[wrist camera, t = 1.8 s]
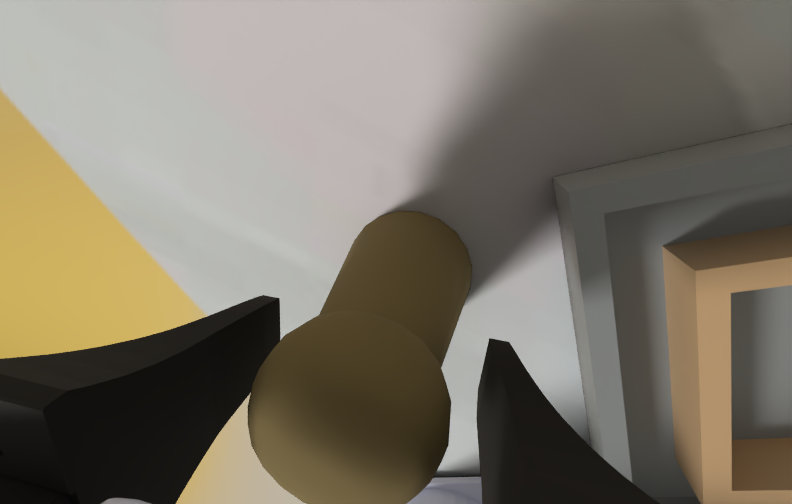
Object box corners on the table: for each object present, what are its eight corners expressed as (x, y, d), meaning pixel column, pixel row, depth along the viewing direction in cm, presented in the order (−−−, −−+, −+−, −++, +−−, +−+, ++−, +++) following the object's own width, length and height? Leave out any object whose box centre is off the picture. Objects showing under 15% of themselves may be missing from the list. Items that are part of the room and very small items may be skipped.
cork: (360, 327, 20) (245, 547, 10) (338, 217, 18) (167, 352, 8) (477, 323, 19) (478, 574, 9) (465, 203, 17) (449, 346, 7)
